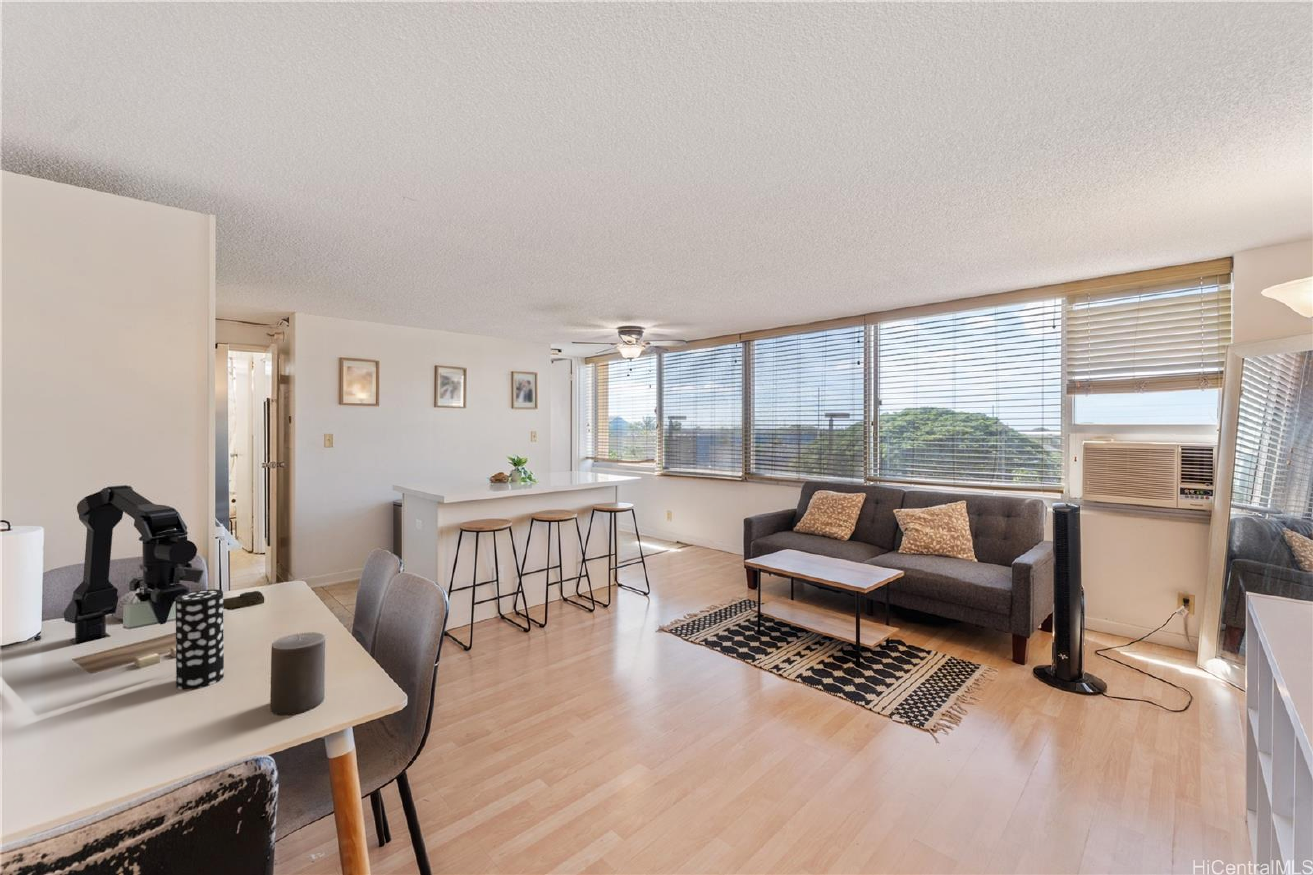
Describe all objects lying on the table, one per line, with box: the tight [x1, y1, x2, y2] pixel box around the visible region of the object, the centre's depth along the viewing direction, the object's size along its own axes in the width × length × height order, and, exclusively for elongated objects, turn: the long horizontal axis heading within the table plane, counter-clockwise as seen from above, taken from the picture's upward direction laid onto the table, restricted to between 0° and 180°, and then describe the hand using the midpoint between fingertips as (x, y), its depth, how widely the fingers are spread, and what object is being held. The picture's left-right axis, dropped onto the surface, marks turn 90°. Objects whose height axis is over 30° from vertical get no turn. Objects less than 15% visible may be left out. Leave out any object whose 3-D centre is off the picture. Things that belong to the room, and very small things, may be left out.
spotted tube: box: [175, 588, 225, 691], centre depth 123 cm, size 8×8×20 cm
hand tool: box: [223, 590, 265, 610], centre depth 169 cm, size 19×4×5 cm, turn 129°
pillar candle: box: [269, 631, 326, 716], centre depth 115 cm, size 10×10×15 cm
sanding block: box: [122, 601, 176, 630], centre depth 133 cm, size 4×12×6 cm, turn 150°
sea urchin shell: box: [111, 588, 140, 620], centre depth 164 cm, size 13×14×8 cm
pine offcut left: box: [134, 652, 161, 669], centre depth 129 cm, size 4×4×4 cm
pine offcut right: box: [169, 646, 176, 659], centre depth 134 cm, size 4×4×4 cm
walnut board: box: [72, 632, 176, 675], centre depth 137 cm, size 14×24×2 cm, turn 149°
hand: (159, 622), depth 133 cm, fingers closed on sanding block, 4 cm apart
